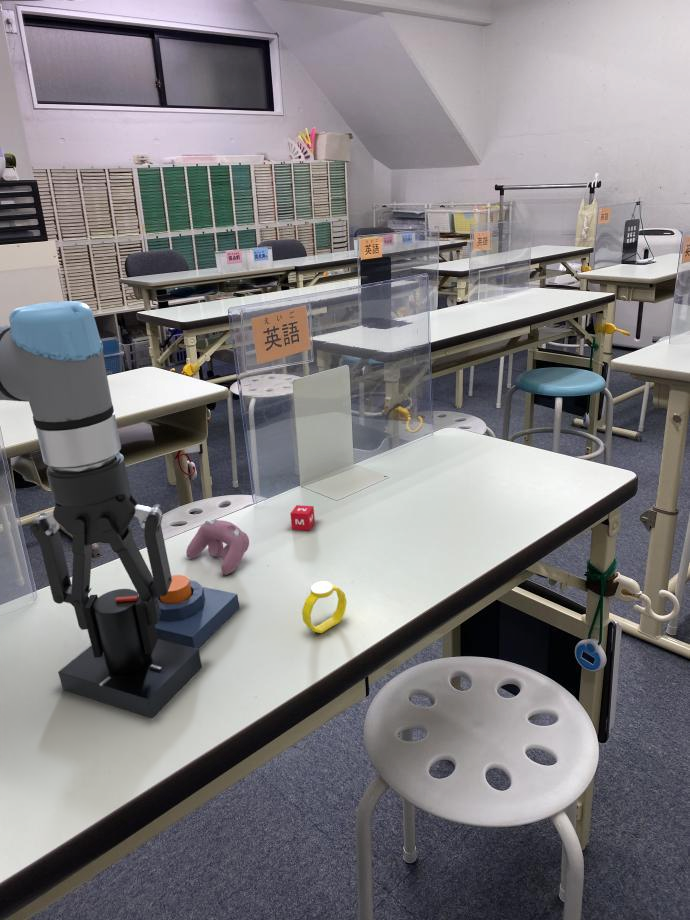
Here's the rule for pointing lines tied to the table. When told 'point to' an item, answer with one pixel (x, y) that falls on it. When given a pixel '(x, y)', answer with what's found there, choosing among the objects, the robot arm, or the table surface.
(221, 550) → the video game controller
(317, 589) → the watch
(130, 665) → the dial
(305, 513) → the red letter cube
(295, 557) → the table surface
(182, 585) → the button
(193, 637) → the button base
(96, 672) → the dial panel
